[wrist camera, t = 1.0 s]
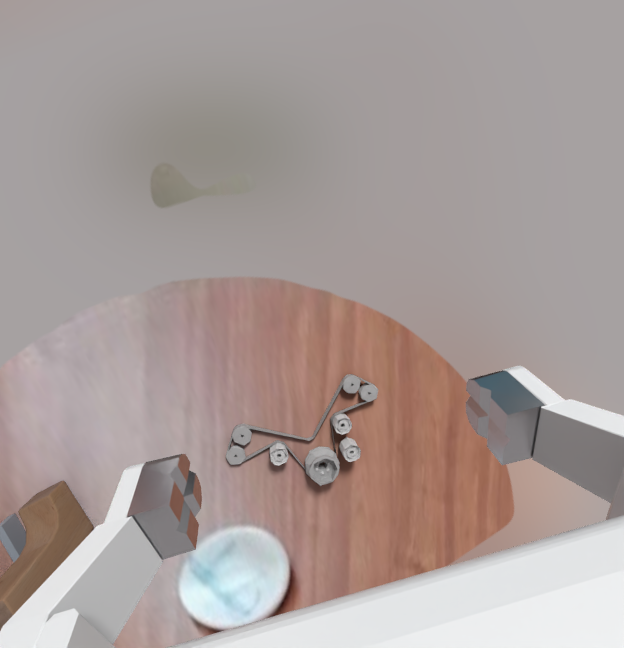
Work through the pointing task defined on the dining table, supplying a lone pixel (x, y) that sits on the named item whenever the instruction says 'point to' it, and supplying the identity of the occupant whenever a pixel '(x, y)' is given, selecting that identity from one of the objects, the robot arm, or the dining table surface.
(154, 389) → the dining table surface
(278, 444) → the pulley system
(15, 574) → the wooden block
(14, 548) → the wooden tray
